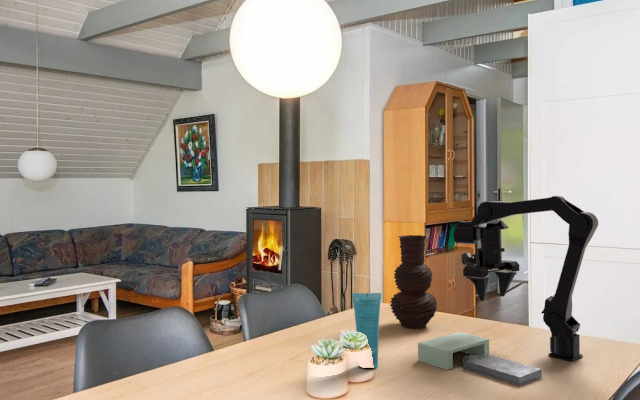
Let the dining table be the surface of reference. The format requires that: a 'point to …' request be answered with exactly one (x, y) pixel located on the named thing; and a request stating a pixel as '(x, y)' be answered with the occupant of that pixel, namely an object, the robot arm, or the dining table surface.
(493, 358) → the grey flat block
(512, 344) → the dining table surface
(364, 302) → the tube
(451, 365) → the pale mint green box
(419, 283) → the vase
